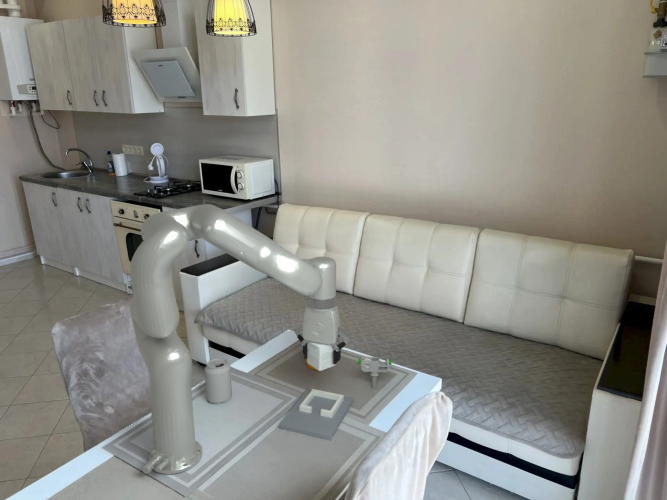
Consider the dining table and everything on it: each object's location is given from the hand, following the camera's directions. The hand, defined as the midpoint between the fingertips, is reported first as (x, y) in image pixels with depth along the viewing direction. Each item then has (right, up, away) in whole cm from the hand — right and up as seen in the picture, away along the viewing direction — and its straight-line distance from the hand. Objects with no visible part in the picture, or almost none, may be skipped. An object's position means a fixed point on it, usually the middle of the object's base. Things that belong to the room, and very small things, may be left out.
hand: (321, 359), depth 139 cm
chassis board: (-1, -16, +1) cm, 16 cm away
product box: (0, -2, +1) cm, 2 cm away
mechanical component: (+16, -13, +16) cm, 26 cm away
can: (-31, -14, +9) cm, 35 cm away
